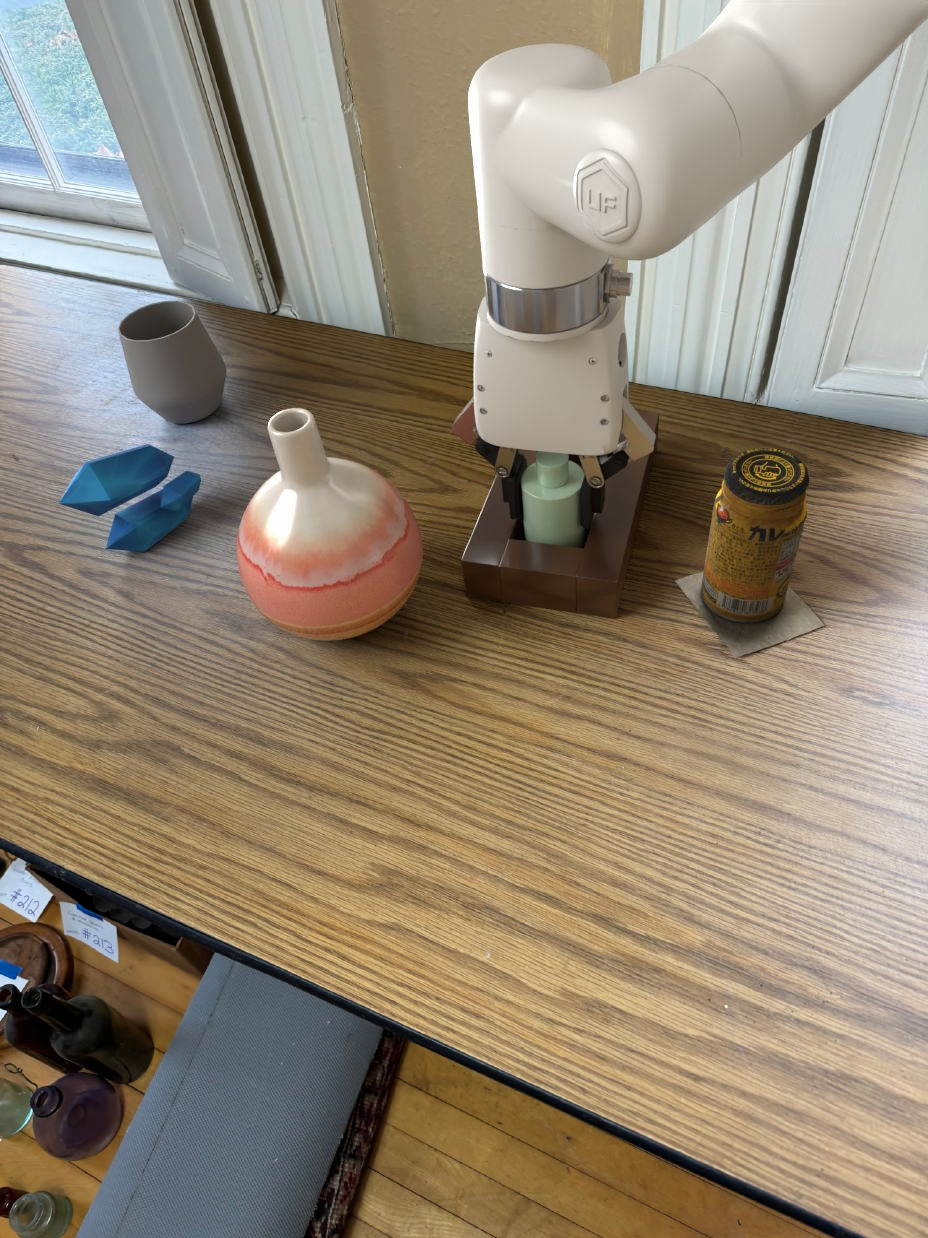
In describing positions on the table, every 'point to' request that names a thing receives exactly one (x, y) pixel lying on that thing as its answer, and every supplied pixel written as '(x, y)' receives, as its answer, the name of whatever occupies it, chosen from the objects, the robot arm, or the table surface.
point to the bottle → (552, 501)
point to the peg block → (560, 548)
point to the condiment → (754, 553)
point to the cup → (173, 361)
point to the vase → (326, 540)
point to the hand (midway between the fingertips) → (554, 510)
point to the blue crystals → (133, 495)
